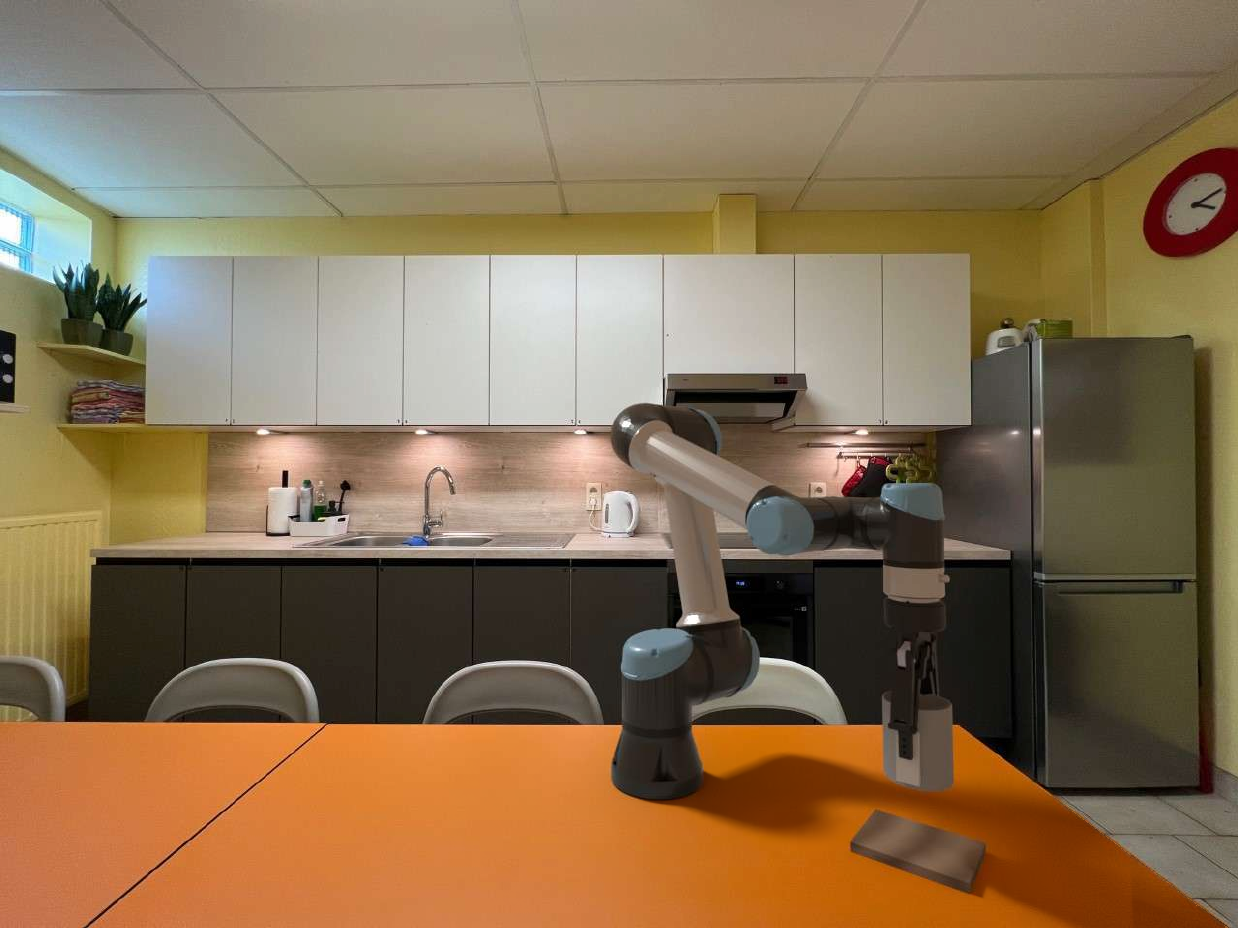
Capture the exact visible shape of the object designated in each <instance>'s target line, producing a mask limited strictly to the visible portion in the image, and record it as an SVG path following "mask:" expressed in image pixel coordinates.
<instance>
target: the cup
mask: <svg viewBox="0 0 1238 928" xmlns="http://www.w3.org/2000/svg"><path fill="white" fill-rule="evenodd" d="M881 706H882V707H881V715H882V716H881V717H882V724H881V725H882V763H883V764H882V770H883V773H884V775H885V777H886V778H888V779H889V780H891V781H892V782H893V783H895V784H898V785H900V786H903V787H905V788H908V789H913V790H917V791H924V792H943V791H946V790H949V789H952V787H953V785H954V783H955V775H954V769H955V767H954V735H953V734H954V733H953V732H954V731H953V729H954V728H953V725H954V724H953V704H952V703H951V702H950V700H949V699H947V698H944V697H943V696H938V695H934V694H927V695H922V694H920V697H919V709H918V721H917V732H920V778H921V785H920V786H915V785H911V784H908V783H904V782H900V781H897V780H896V736H895V730H893V729H889V728H888V723H890V708H891V690H890V691H889V690H888V691H885V692H884V693H883V694H882V695H881ZM901 721H903V720H901Z"/></svg>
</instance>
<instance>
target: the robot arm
mask: <svg viewBox="0 0 1238 928" xmlns="http://www.w3.org/2000/svg"><path fill="white" fill-rule="evenodd" d="M609 435H610V438H609V439H610V443H611V448H612V450H613V452H614V453H615V455H616V456H617V457H618V459H620V460H621V462H623V463H624V464H626V465H627V466H628V467H630V468H632V469H634V470H635V471H636V472H638V473H640V474H650V473H652V474H653V478H654V481H655V482H656V483H658V484H660V485H661V486H662V487H663V491H664V495H665V496H664V497H665V504H666V509H667V516H668V523H669V530H670V531H669V532H670V536H671V544H672V551H673V557H674V563H675V569H676V576H677V582H678V583H677V584H678V589H679V597H680V602H681V610H682V614H681V617H680V618H679V620H678V621H677V622H676V625H675V627H676V628H670V627H665V628H664V627H663V628H660V629H659V628H658V629H657V628H654V629H649V630H648V629H647V630H643V631H640V632H638V633H635V634H634V635H631V637H629V638H628V639H627V640H626V642H624V645H623V647H622V659H621V660H622V661H621V664H620V671H621V731H620V735H619V738H618V741H617V745H616V748H615V751H614V754H613V757H612V759H611V762H610V763H611V765H610V779H611V782H612V784H613V785H614V786H615V787H616V788H617V789H619V790H620V792H621V791H622V792H623V793H626V794H628V795H630V796H634V797H637V798H640V799H641V798H642V799H646V800H647V799H648V800H672V799H673V800H674V799H678V798H682V797H686V796H690V795H691V794H693V793H695V792H696V791H697V790H699V789H700V788H701V787H702V784H703V781H704V773H703V772H704V767H703V762H702V760H701V758H700V754H699V750H698V747H697V744H696V740H695V736H694V734H693V707H695V706H699V705H702V704H705V703H708V702H712V701H716V700H718V699H723V698H731V697H733V696H735V695H737V694H738V693H740V692H743V691H745V690H747V689H748V688H749V687H751V685H752V684H753V683H754V681H755V680H756V678H757V676H758V673H759V669H760V663H761V662H760V661H761V660H760V659H761V657H760V650H759V647H758V643H757V641H756V639H755V638H754V637H753V636H752V635H751V633H750V631H749V630H747V629H746V628H744V627H742V624H741V618H740V615H739V614H737V613H736V612H735V611H733V610H732V609H731V607H730V603H729V602H730V601H729V597H728V589H727V584H726V578H725V572H724V567H723V562H722V555H721V548H720V542H719V538H718V537H719V536H718V530H717V525H716V524H717V523H716V520H715V514H714V511H715V512H717V513H718V514H720V515H722V516H723V517H725V518H726V519H728V520H730V521H732V523H735V524H737V525H738V526H740V527H742V529H744V530H747V531H746V532H747V535H748V538H750V540H751V541H752V543H753V546H754V547H755V548H756V549H758V551H760V552H763V553H765V554H767V555H779V556H792V555H796V554H804V553H810V552H811V553H812V552H823V551H824V552H825V551H834V550H845V549H846V550H847V549H848V550H850V549H851V550H865V551H866V550H867V551H877V552H878V551H879V552H881V551H882V559H883V562H882V576H883V577H882V579H883V580H882V585H883V587H882V588H883V589H882V590H883V591H882V592H883V593H884V594H885V595H886V597H885V599H883V615H884V616H883V620H884V624H885V625H886V626H887V627H889V628H891V629H896V630H898V631H899V635H898V636H899V637H898V641H896V643H895V647H892V648H891V650H890V659H891V684H890V686H891V687H890V688H891V689H890V691H891V708H890V723H888V728H889V729H893V730H895V736H896V780H897V781H900V782H904V783H908V784H911V785H915V786H920V785H921V778H920V732H917V721H918V709H919V697H920V694H922V695H927V694H934V695H938V696H940V695H941V694H940V682H939V670H938V669H939V668H938V655H937V640H938V636H937V633H939V632H942V631H944V630H945V629H946V627H947V615H946V614H947V613H946V612H947V607H946V606H947V605H946V603H945V602H944V601H943V600H941V599H943V598H944V597H945V596H946V590H945V589H946V586H945V585H946V584H945V583H949V582H950V580H951V579H950V576H949V575H947V574H945V519H946V516H945V514H944V503H943V492H942V489H941V488H940V487H939V486H938V485H937V484H935V483H933V482H932V483H931V482H929V483H928V482H918V483H917V482H907V483H906V482H905V483H904V482H899V483H898V482H897V483H896V482H895V483H884V484H883V486H882V488H881V494H880V496H877V497H857V496H856V497H855V496H854V497H853V496H834V495H832V496H822V497H821V496H819V497H816V496H814V497H808V496H806V497H805V496H804V497H802V496H798V495H796V494H793V493H792V492H789V491H788V490H785V489H783V488H781V487H779V486H777V485H776V484H774V483H772V482H770V481H768V480H766V479H765V478H762V477H760V476H758V475H756V474H754V473H752V472H750V471H749V470H746V469H744V468H742V467H740V466H738V465H736V464H735V463H733V462H730V461H729V460H726V459H725V458H722V457H720V451H722V449H723V436H722V432H721V429H720V427H719V424H718V423H717V421H716V420H715V419H714V417H712V415H711V414H709V413H707V412H706V411H704V410H700V409H696V408H693V407H689V406H674V405H665V404H656V403H649V402H640V403H634V404H631V405H630V406H628V407H626V408H624V409H623V410H622V411H620V412H619V413H618V415H617V416H616V417H615V419H614V420H613V422H612V425H611V428H610V434H609ZM940 697H941V696H940ZM901 720H903V721H901Z"/></svg>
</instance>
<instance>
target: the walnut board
mask: <svg viewBox="0 0 1238 928" xmlns="http://www.w3.org/2000/svg"><path fill="white" fill-rule="evenodd" d="M849 847H850V848H849V849H850V850H849V851H850V852H853V853H854V854H857V855H860V856H863V857H866V858H868V859H872V860H875V861H877V862H880V863H883V864H886V865H887V866H888V865H889V866H891V867H894V868H897V869H900V870H903V871H905V872H907V873H911V874H913V875H915V876H916V875H917V876H919V877H922V878H924V879H927V880H930V881H933V882H936V883H939V884H941V885H944V886H947V887H950V888H952V889H955V890H959V891H960V892H964V893H966V894H971V891H972V889H973V886H974V884H975V882H976V878H977V876H978V874H979V870H980V868H981V866H982V864H983V861H984V857H985V855H986V852H987V851H986V850H987V849H986V848H987V847H986V842H984V841H980V840H977V839H974V838H970V837H968V836H964V835H961V834H958V833H955V832H952V831H948V830H944V829H941V828H938V827H935V826H932V825H928V824H926V823H922V822H919V821H915V820H913V819H909V818H906V817H903V816H900V815H896V814H893V813H890V812H886V811H884V810H880V809H874V810H873V811H872V813H871V815H869V817H868V818H867V819H866V821H865V822H864V823H863V824H862V825H861V827H860V828H859V830H858V831H857V832H856V833H855V835H854V836H853V837H852V839H851V840H850V845H849Z"/></svg>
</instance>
